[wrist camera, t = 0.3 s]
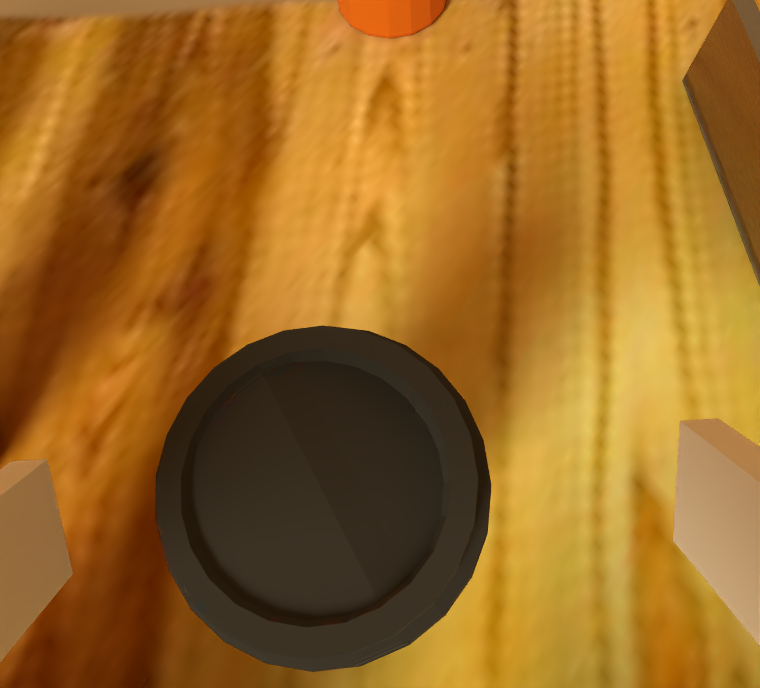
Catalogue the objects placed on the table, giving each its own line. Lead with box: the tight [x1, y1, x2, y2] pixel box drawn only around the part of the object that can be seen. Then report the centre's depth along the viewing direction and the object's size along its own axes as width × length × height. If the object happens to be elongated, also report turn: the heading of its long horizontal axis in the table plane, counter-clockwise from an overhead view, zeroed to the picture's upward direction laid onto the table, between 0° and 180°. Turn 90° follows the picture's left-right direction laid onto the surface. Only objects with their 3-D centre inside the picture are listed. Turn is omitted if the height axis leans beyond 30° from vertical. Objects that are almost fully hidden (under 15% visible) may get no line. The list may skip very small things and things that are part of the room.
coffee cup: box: [155, 326, 491, 672], centre depth 20 cm, size 8×8×15 cm
